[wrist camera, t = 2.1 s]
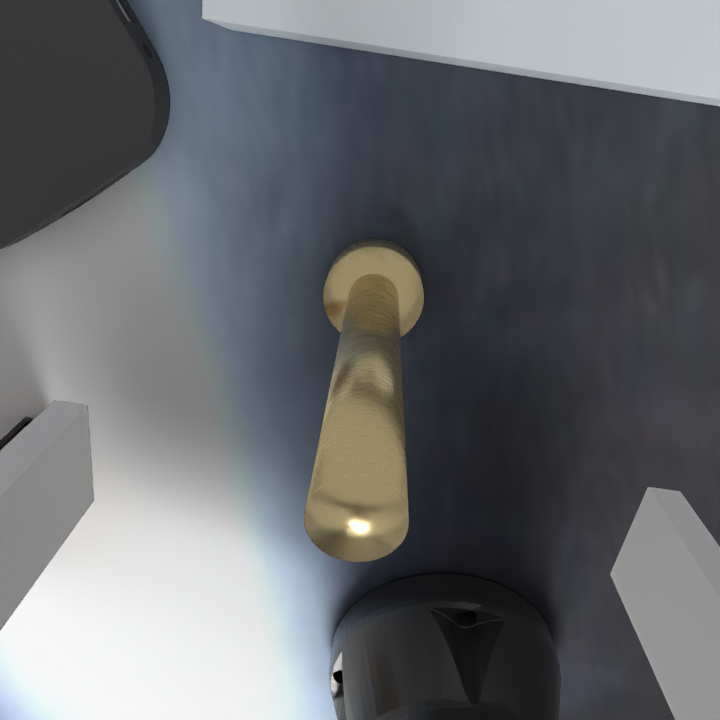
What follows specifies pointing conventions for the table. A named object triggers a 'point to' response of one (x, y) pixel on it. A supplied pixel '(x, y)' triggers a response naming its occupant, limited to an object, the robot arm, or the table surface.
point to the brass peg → (365, 405)
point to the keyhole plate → (514, 37)
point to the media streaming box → (72, 106)
